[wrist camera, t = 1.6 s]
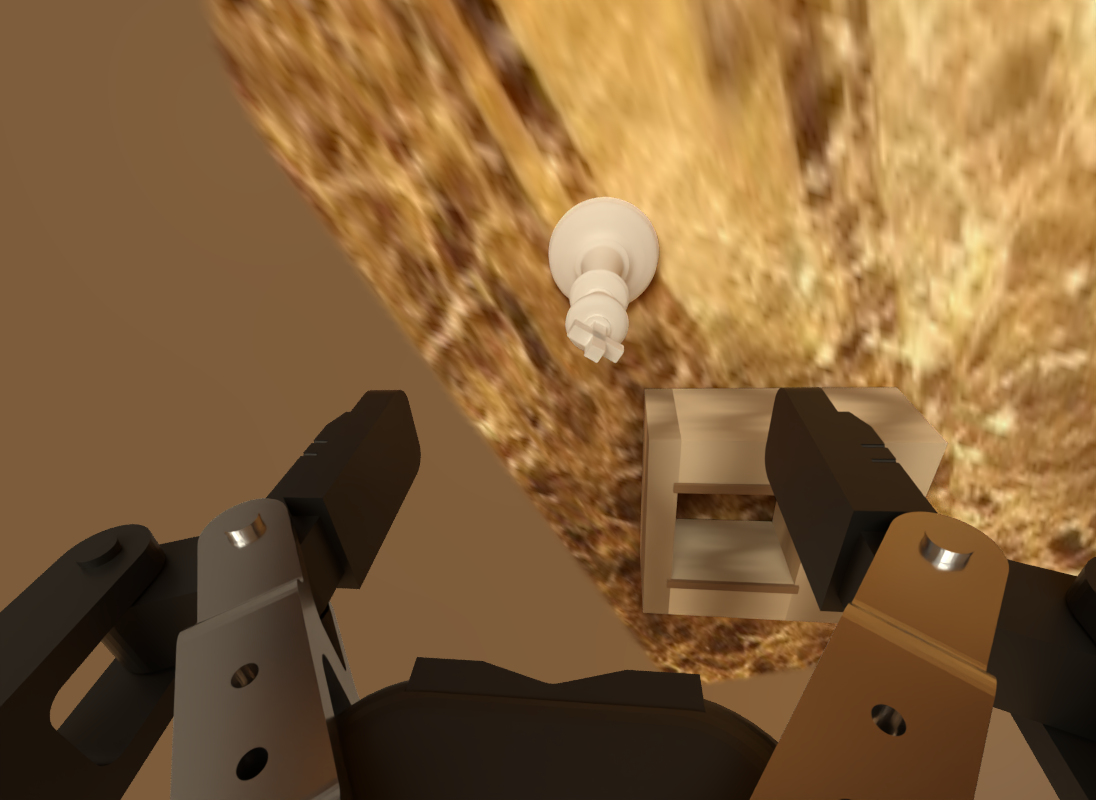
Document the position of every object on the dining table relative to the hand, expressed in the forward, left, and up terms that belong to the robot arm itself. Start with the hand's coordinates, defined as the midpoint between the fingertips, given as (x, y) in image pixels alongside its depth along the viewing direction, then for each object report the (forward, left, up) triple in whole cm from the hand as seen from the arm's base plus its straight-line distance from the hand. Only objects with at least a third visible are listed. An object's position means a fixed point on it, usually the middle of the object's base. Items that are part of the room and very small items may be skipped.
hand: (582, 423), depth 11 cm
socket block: (-8, +13, -14) cm, 21 cm away
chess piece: (0, 0, -14) cm, 14 cm away
